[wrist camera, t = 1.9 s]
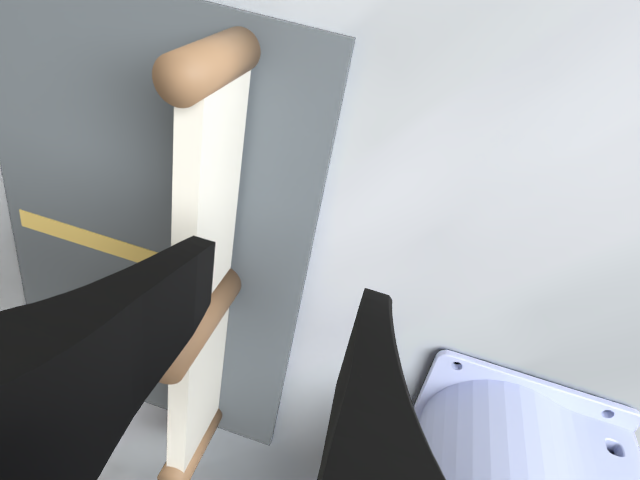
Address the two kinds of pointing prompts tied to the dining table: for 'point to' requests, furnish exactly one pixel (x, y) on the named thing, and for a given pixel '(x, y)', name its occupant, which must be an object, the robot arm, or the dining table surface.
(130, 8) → the card
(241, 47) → the hinged fence panel
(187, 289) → the robot arm
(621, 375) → the dining table surface
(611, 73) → the dining table surface
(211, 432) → the fixed fence panel
